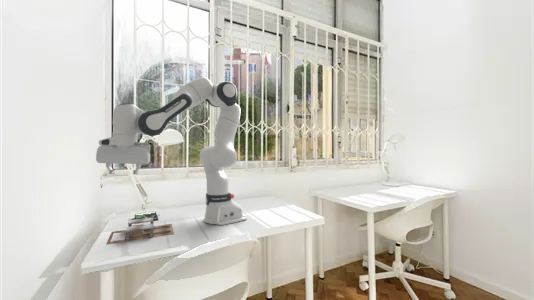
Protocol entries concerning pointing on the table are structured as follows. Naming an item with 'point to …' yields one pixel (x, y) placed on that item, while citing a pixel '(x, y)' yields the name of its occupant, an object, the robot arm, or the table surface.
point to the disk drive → (147, 216)
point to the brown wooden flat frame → (148, 231)
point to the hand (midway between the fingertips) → (123, 174)
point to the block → (136, 231)
